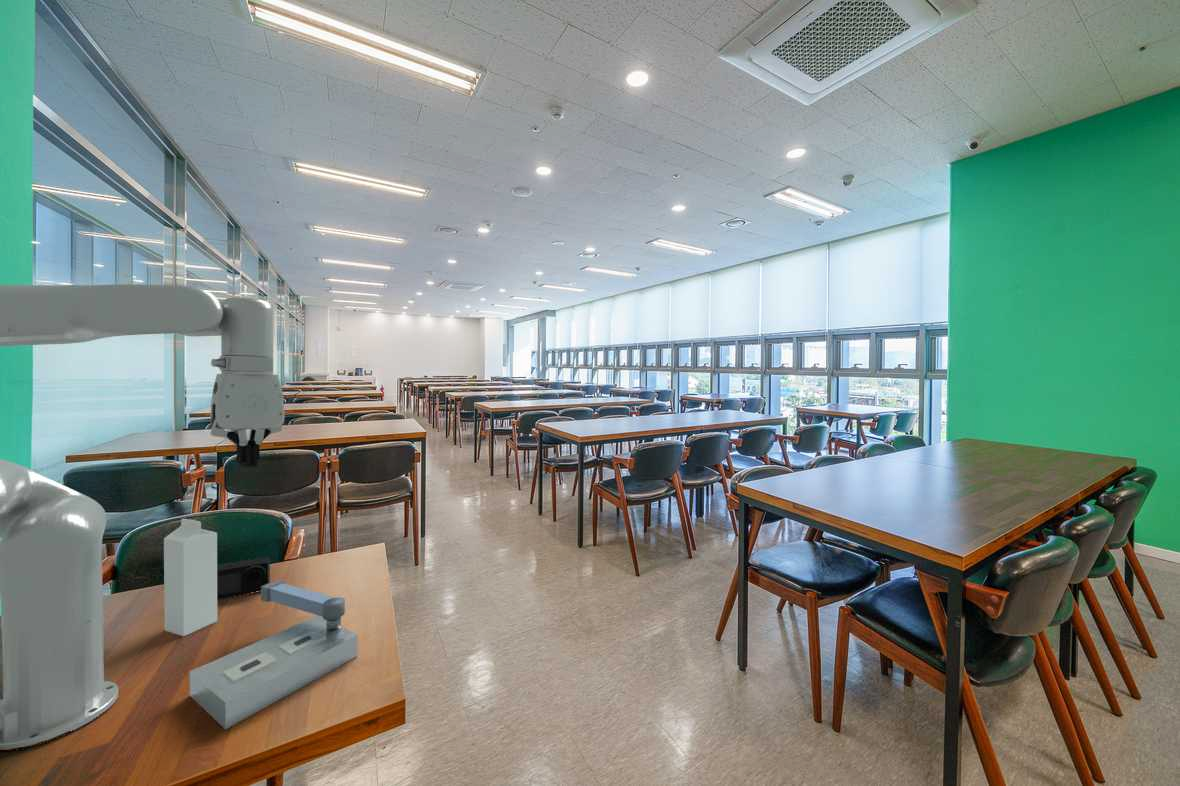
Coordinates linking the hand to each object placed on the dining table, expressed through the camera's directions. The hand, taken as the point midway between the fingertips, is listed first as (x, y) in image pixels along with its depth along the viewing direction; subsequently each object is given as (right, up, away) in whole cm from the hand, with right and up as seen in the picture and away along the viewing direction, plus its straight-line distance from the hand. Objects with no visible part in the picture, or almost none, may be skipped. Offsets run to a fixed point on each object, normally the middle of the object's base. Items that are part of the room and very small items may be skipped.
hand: (248, 465), depth 80 cm
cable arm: (+7, -29, +5) cm, 30 cm away
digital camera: (-20, -34, +23) cm, 46 cm away
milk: (-19, -35, +9) cm, 41 cm away
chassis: (+9, -35, -5) cm, 37 cm away
